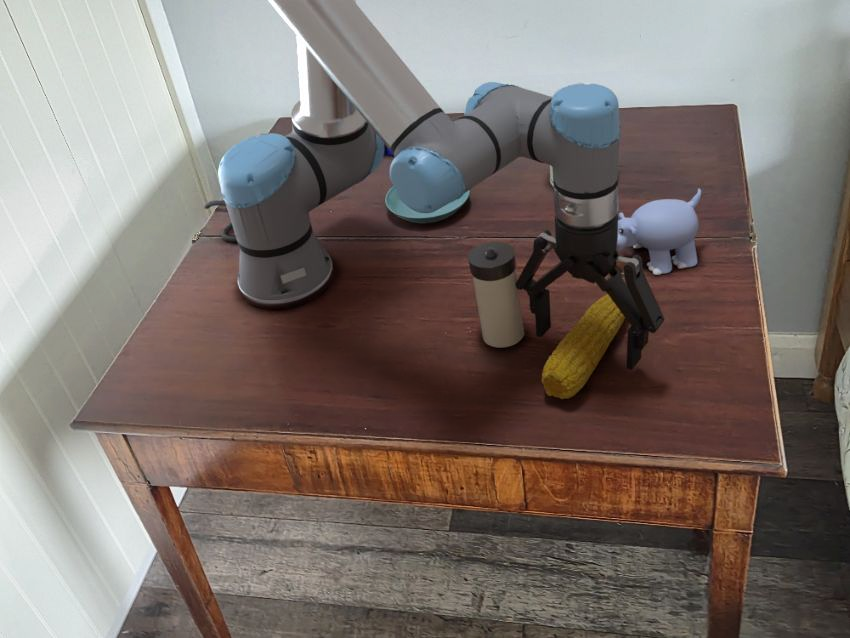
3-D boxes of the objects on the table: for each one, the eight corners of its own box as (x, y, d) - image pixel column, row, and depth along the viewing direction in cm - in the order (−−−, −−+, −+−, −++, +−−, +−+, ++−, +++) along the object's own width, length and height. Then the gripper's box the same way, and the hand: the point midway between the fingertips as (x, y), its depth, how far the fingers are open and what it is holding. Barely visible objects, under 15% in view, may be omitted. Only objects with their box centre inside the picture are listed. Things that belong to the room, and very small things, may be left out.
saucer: (405, 181, 164) (403, 169, 162) (482, 188, 158) (480, 175, 157) (374, 225, 153) (371, 212, 152) (454, 234, 148) (453, 221, 146)
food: (576, 411, 114) (575, 377, 110) (535, 399, 116) (533, 365, 112) (635, 314, 127) (636, 281, 123) (598, 305, 129) (598, 272, 126)
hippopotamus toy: (593, 247, 141) (593, 195, 135) (682, 225, 142) (685, 173, 136) (620, 285, 132) (621, 232, 126) (714, 262, 134) (720, 208, 128)
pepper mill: (473, 341, 127) (458, 256, 118) (496, 316, 130) (483, 232, 122) (510, 353, 123) (497, 266, 115) (533, 327, 127) (522, 241, 118)
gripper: (482, 205, 111) (494, 334, 124) (670, 257, 98) (662, 395, 111) (514, 176, 116) (522, 304, 129) (698, 223, 103) (687, 360, 116)
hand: (587, 347), depth 120 cm, fingers open, 13 cm apart
